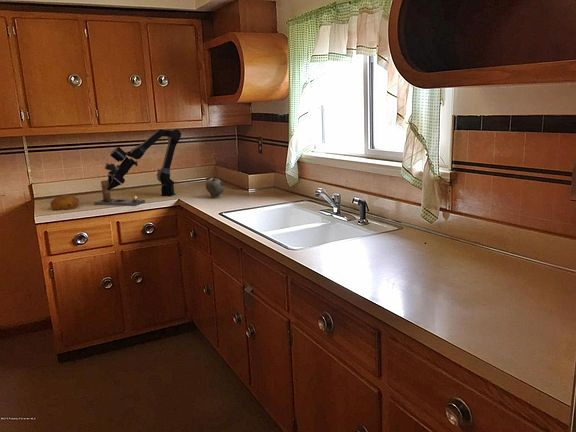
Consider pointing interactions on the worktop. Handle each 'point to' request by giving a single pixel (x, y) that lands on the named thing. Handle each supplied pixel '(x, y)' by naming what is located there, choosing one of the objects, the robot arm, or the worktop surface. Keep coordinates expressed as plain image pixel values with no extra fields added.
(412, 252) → the worktop surface
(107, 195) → the dowel
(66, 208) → the bread loaf
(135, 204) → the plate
